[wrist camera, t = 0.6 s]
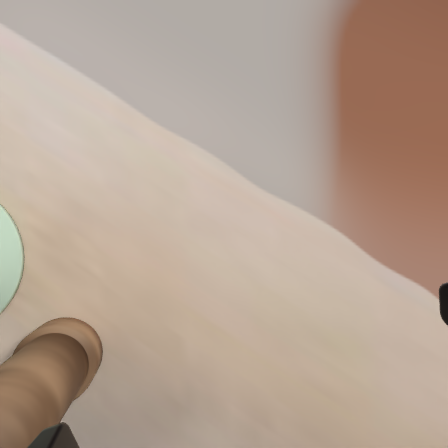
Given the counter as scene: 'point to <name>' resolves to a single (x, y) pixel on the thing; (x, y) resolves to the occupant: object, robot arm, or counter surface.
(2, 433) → the pepper mill
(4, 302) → the rubber mat
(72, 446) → the robot arm
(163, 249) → the counter surface
